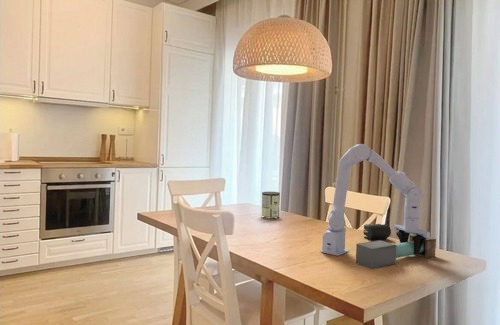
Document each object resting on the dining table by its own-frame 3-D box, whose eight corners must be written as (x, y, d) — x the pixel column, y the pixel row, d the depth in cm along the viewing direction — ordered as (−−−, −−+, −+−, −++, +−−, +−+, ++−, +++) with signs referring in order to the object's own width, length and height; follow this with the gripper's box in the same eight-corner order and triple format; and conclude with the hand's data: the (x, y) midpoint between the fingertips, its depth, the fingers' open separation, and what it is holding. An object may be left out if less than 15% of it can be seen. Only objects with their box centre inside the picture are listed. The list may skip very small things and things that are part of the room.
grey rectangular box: (372, 269, 133) (372, 249, 132) (355, 262, 139) (356, 243, 139) (395, 264, 139) (396, 245, 138) (378, 258, 145) (379, 240, 145)
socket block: (426, 258, 147) (427, 240, 147) (409, 252, 154) (409, 235, 154) (435, 256, 150) (436, 238, 149) (417, 251, 157) (417, 234, 156)
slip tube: (386, 262, 138) (387, 248, 138) (376, 258, 142) (376, 244, 142) (428, 253, 150) (429, 241, 150) (417, 250, 154) (417, 238, 154)
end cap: (372, 241, 170) (372, 226, 170) (362, 237, 177) (363, 223, 177) (390, 240, 174) (391, 225, 173) (380, 236, 180) (381, 222, 180)
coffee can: (266, 214, 229) (267, 190, 228) (282, 216, 223) (283, 192, 222) (258, 217, 220) (258, 192, 219) (273, 219, 214) (274, 194, 214)
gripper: (436, 219, 143) (434, 255, 144) (403, 213, 156) (401, 246, 157) (423, 221, 140) (422, 258, 140) (391, 214, 152) (389, 248, 153)
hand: (410, 252), depth 148 cm, fingers closed on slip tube, 5 cm apart
